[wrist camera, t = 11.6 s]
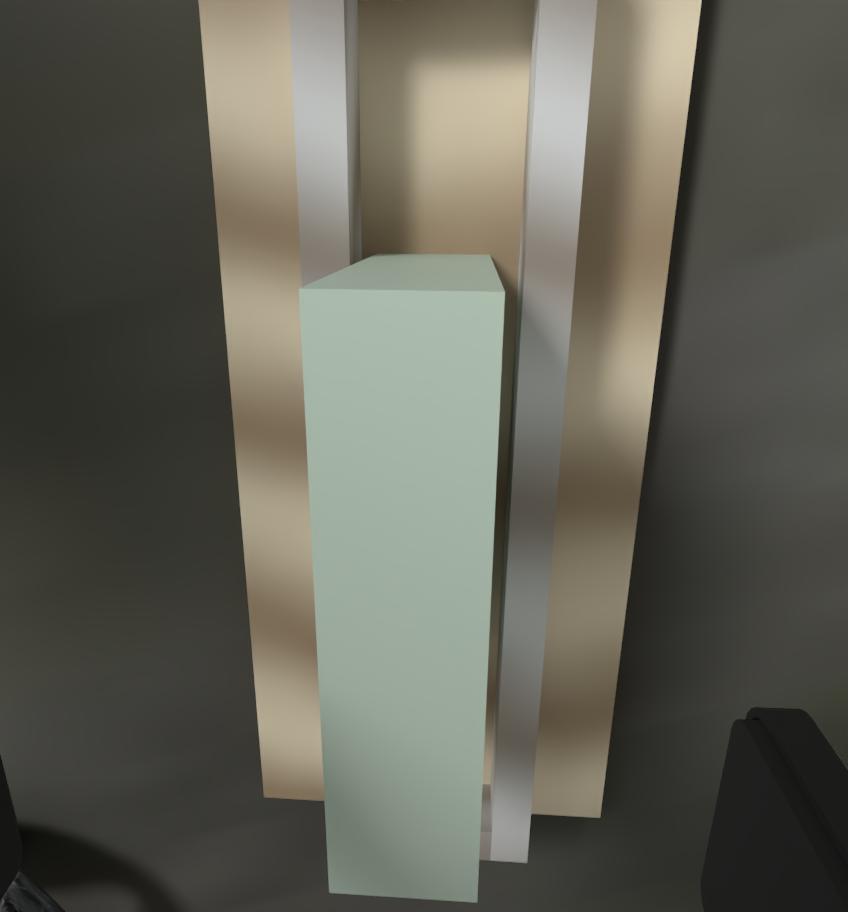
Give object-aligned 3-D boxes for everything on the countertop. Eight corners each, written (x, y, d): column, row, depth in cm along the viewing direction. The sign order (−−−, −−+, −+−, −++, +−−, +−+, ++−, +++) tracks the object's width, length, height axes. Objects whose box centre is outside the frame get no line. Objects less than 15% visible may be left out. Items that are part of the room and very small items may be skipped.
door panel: (377, 253, 19) (298, 288, 10) (489, 254, 18) (504, 291, 10) (382, 637, 23) (329, 893, 14) (475, 641, 22) (477, 902, 14)
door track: (205, -46, 17) (158, -92, 15) (698, -50, 17) (741, -99, 14) (270, 780, 26) (247, 844, 23) (596, 799, 25) (610, 868, 23)
